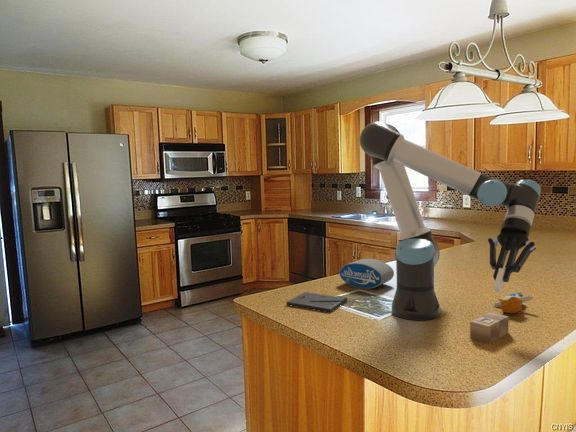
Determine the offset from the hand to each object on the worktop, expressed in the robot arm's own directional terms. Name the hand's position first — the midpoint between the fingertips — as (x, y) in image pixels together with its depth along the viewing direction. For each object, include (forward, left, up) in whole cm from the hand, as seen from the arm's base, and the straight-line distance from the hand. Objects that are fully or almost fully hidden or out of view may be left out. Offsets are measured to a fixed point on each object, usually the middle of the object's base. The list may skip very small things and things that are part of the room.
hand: (497, 290), depth 115 cm
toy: (-13, +18, -12) cm, 25 cm away
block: (0, +1, -10) cm, 10 cm away
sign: (-58, -11, -12) cm, 60 cm away
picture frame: (-44, -38, -13) cm, 59 cm away
